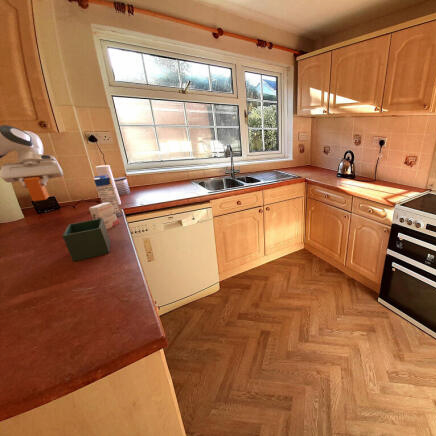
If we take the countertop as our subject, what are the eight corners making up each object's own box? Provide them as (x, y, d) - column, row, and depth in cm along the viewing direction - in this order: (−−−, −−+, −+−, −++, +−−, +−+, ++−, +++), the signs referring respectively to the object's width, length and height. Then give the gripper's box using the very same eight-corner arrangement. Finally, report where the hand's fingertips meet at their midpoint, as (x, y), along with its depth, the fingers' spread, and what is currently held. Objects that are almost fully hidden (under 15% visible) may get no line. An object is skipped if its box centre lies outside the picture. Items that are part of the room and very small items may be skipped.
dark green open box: (73, 261, 93) (62, 236, 89) (78, 248, 103) (68, 224, 99) (109, 252, 99) (100, 228, 94) (110, 240, 109) (102, 218, 105)
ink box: (111, 223, 128) (104, 201, 124) (119, 223, 127) (112, 202, 123) (96, 230, 121) (87, 207, 116) (104, 230, 120) (96, 207, 115)
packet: (33, 201, 111) (23, 179, 107) (36, 198, 116) (27, 177, 112) (46, 199, 113) (37, 178, 109) (49, 196, 118) (40, 176, 114)
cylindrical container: (106, 205, 158) (93, 166, 148) (118, 202, 163) (106, 164, 154) (110, 207, 154) (97, 167, 145) (123, 203, 159) (111, 165, 150)
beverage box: (107, 218, 135) (94, 179, 126) (106, 213, 143) (93, 176, 134) (121, 215, 139) (109, 177, 130) (119, 210, 147) (108, 174, 138)
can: (119, 196, 176) (115, 180, 172) (109, 195, 180) (104, 179, 176) (134, 192, 186) (130, 176, 182) (124, 191, 190) (119, 176, 186)
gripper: (-4, 160, 107) (-2, 185, 103) (57, 155, 117) (61, 178, 113) (4, 168, 112) (6, 193, 108) (62, 163, 123) (66, 186, 119)
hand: (35, 186), depth 111 cm, fingers closed on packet, 4 cm apart
